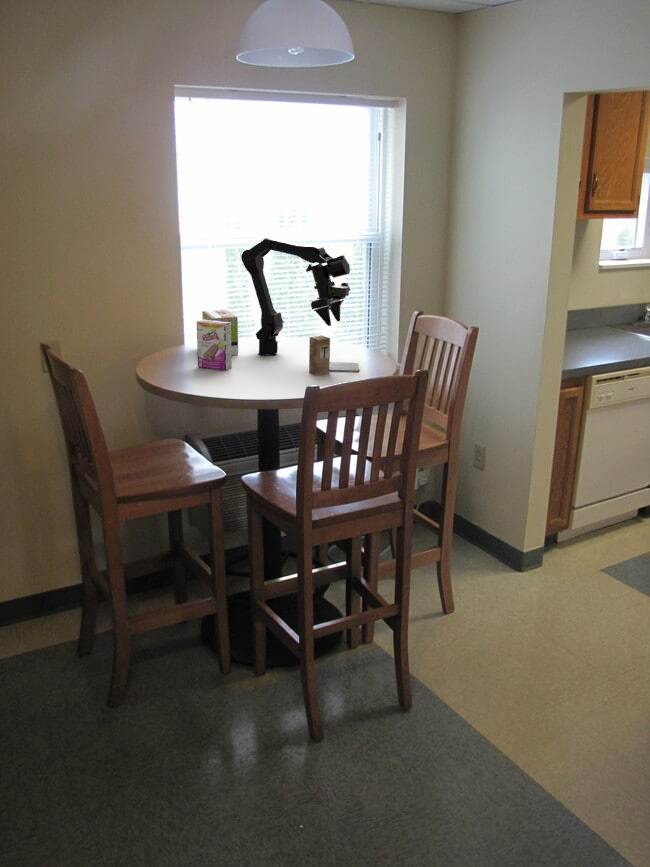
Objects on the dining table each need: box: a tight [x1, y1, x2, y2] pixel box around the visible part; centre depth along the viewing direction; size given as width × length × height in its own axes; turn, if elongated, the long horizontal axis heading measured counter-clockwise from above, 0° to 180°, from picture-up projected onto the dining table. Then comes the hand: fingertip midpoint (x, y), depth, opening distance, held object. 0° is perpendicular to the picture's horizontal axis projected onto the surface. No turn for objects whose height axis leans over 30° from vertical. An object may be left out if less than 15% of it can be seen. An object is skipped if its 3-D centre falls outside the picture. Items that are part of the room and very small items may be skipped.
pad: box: [329, 361, 360, 373], centre depth 271 cm, size 11×11×1 cm
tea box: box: [201, 309, 239, 356], centre depth 288 cm, size 15×10×15 cm, turn 23°
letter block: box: [308, 335, 331, 376], centre depth 261 cm, size 6×5×12 cm
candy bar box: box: [196, 319, 233, 372], centre depth 264 cm, size 11×5×16 cm, turn 71°
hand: (334, 323), depth 275 cm, fingers open, 9 cm apart
